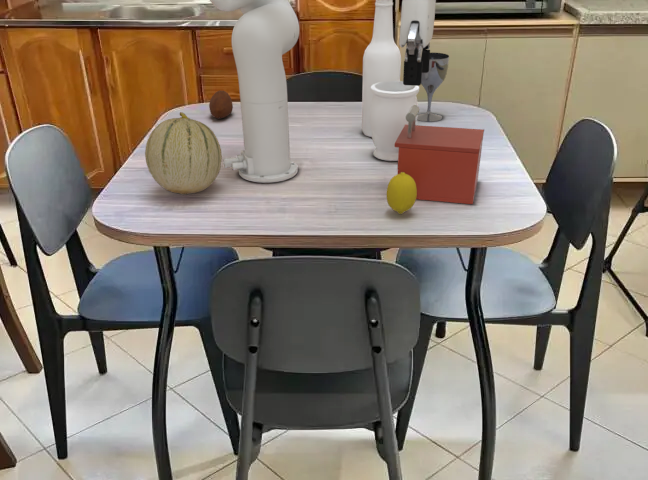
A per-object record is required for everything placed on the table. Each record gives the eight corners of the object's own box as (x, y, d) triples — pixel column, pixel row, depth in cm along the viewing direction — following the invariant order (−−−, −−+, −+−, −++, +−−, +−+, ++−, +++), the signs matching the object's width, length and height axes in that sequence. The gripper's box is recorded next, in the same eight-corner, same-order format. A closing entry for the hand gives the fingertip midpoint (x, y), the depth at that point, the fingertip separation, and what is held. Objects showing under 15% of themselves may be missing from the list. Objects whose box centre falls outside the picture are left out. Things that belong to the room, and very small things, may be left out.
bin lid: (394, 147, 127) (395, 116, 124) (404, 128, 136) (406, 99, 133) (478, 153, 124) (482, 122, 120) (483, 133, 133) (487, 104, 130)
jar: (412, 164, 148) (417, 93, 139) (365, 162, 149) (367, 91, 141) (416, 148, 156) (421, 80, 147) (372, 146, 158) (374, 79, 149)
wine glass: (448, 115, 177) (454, 54, 168) (436, 123, 172) (441, 60, 163) (420, 111, 181) (425, 51, 172) (407, 119, 175) (411, 57, 167)
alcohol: (395, 139, 162) (402, -1, 145) (359, 137, 163) (361, -1, 146) (398, 128, 169) (405, -7, 152) (363, 126, 170) (366, -7, 153)
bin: (396, 197, 133) (398, 147, 127) (405, 176, 142) (408, 128, 136) (472, 204, 129) (478, 153, 124) (477, 182, 139) (483, 133, 133)
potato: (206, 123, 175) (204, 97, 172) (213, 110, 185) (211, 85, 181) (230, 122, 175) (227, 97, 171) (235, 110, 185) (233, 85, 181)
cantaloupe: (155, 210, 130) (142, 131, 121) (148, 183, 141) (136, 109, 133) (231, 200, 133) (223, 123, 124) (218, 174, 145) (211, 102, 136)
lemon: (381, 210, 128) (382, 169, 123) (408, 206, 129) (410, 165, 125) (392, 221, 123) (394, 179, 119) (420, 217, 125) (423, 175, 120)
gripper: (408, -33, 123) (403, 67, 133) (390, -21, 109) (387, 89, 119) (449, -33, 121) (442, 68, 131) (437, -21, 107) (430, 91, 117)
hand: (416, 78), depth 125 cm, fingers open, 9 cm apart
